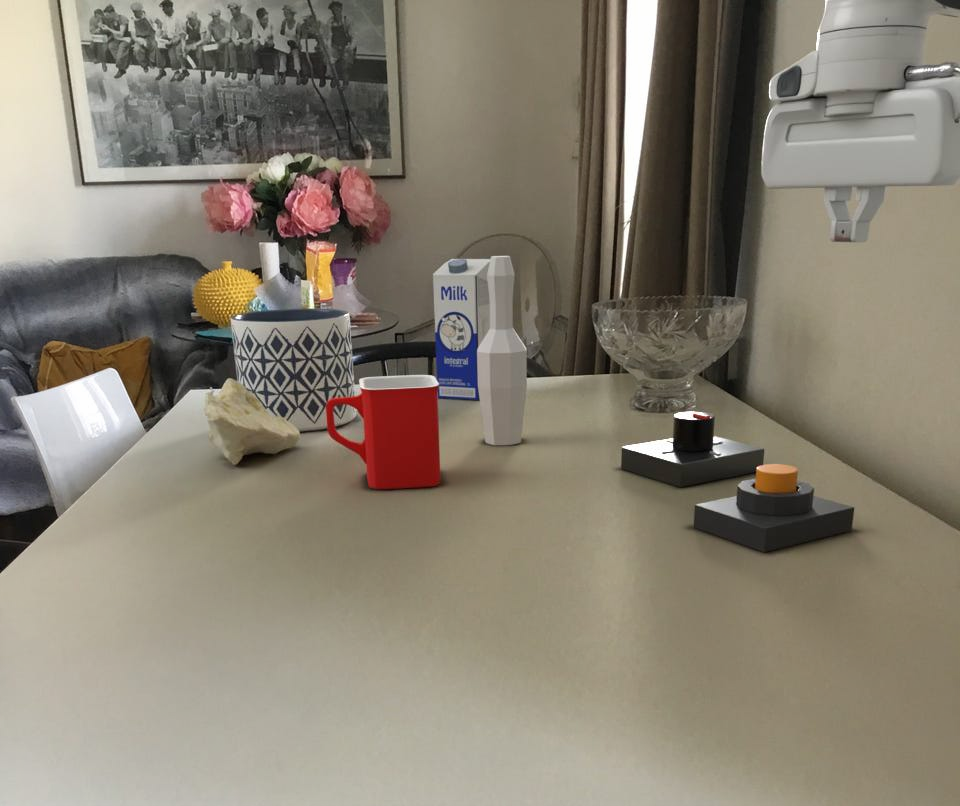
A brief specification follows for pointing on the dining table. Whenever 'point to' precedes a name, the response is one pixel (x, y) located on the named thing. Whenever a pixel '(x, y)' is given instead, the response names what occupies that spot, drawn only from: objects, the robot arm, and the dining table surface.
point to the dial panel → (691, 461)
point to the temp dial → (693, 431)
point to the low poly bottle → (502, 361)
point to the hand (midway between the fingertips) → (848, 242)
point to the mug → (395, 430)
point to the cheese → (245, 424)
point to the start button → (776, 478)
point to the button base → (773, 517)
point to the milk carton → (460, 324)
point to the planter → (296, 363)
